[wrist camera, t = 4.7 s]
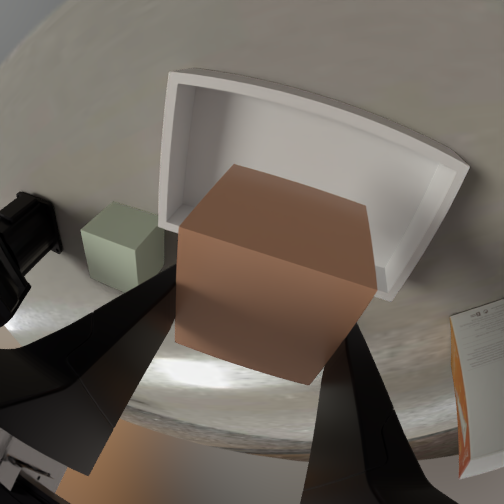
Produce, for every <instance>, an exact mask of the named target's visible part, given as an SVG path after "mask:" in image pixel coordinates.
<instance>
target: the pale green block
mask: <svg viewBox="0 0 504 504" xmlns="http://www.w3.org/2000/svg"><path fill="white" fill-rule="evenodd" d="M81 235H82V240H83V245H84V250H85V255H86V260H87V265H88V269H89V273H90V278H92V279H94V280H96V281H99V282H101V283H103V284H105V285H108V286H110V287H112V288H115V289H117V290H119V291H121V292H124V293H126V292H127V291H129V290H131V289H132V288H134V287H136V286H138V285H139V284H141V283H143V282H145V281H146V280H148V279H150V278H152V277H153V276H155V275H157V274H158V273H159V271H160V270H161V268H162V267H163V266H164V229H163V228H160V227H158V215H156V214H153V213H150V212H146V211H143V210H140V209H137V208H133V207H130V206H127V205H124V204H120V203H117V202H114V201H113V202H112V203H111V204H110V205H108V206H107V207H106V208H105V209H104V210H102V211H101V212H100V213H99V214H98V215H97V216H95V217H94V218H93V219H92V220H91V221H90V222H89V223H88V224H86V225H85V226H84V227H83V228H82V229H81Z"/></svg>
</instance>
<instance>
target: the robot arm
mask: <svg viewBox="0 0 504 504" xmlns="http://www.w3.org/2000/svg"><path fill="white" fill-rule="evenodd" d="M50 250H52V251H54V252H56V253H58V254H60V253H61V252H62V251H63V250H62V246H61V241H60V237H59V233H58V228H57V224H56V219H55V214H54V209H53V206H52V204H51V203H50V202H47V201H44V200H42V199H39V198H36V197H34V196H31V195H28V194H25V193H23V192H18V193H17V198H16V199H15V200H14V201H12V202H11V203H9V204H8V205H7V206H6V207H4V208H3V209H2V210H0V327H2V326H3V325H5V324H6V323H7V322H8V321H9V320H10V319H11V318H12V317H13V316H14V314H15V313H16V311H17V309H18V308H19V306H20V304H21V303H22V301H23V300H24V298H25V296H26V295H27V293H28V292H29V290H30V289H31V285H30V284H29V283H28V282H27V280H26V279H25V277H24V276H25V275H26V274H27V273H28V272H29V271H30V270H31V269H32V268H33V267H34V266H35V265H36V264H37V263H38V262H39V261H40V260H41V259H42V258H43V257H44V256H45V255H46V254H47V253H48V252H49V251H50ZM176 269H177V264H175V265H173V266H171V267H169V268H168V269H166V270H164V271H162V272H160V273H159V274H157V275H155V276H153V277H152V278H150V279H148V280H146V281H145V282H143V283H141V284H139V285H138V286H136V287H134V288H132V289H131V290H129V291H127V292H126V293H124V294H122V295H120V296H119V297H117V298H115V299H114V300H112V301H110V302H108V303H107V304H105V305H103V306H102V307H100V308H98V309H96V310H95V311H94V312H91V313H90V314H88V315H86V316H84V317H83V318H81V319H79V320H77V321H76V322H74V323H72V324H70V325H68V326H66V327H64V328H62V329H60V330H58V331H56V332H54V333H52V334H50V335H48V336H45V337H43V338H41V339H39V340H37V341H35V342H32V343H30V344H28V345H26V346H23V347H20V348H16V349H0V504H70V503H68V502H67V501H66V500H64V499H63V498H61V497H59V496H58V495H56V494H55V492H56V490H57V488H58V486H59V483H60V481H61V479H62V477H63V475H64V473H65V471H66V469H67V467H69V468H71V469H73V470H76V471H78V472H80V473H82V474H85V475H87V476H89V474H90V472H91V470H92V469H93V467H94V465H95V463H96V461H97V459H98V457H99V455H100V453H101V452H102V450H103V448H104V446H105V444H106V442H107V440H108V438H109V436H110V435H111V433H112V431H113V428H114V427H115V426H116V424H117V422H118V420H119V418H120V416H121V415H122V413H123V411H124V409H125V407H126V406H127V404H128V402H129V400H130V398H131V397H132V395H133V393H134V391H135V389H136V388H137V386H138V384H139V382H140V381H141V379H142V377H143V375H144V374H145V372H146V370H147V368H148V367H149V365H150V363H151V361H152V360H153V358H154V356H155V354H156V353H157V351H158V349H159V347H160V346H161V344H162V342H163V341H164V339H165V337H166V335H167V334H168V332H169V330H170V328H171V326H172V324H173V321H174V319H175V317H176ZM393 409H394V407H393V405H392V402H391V400H390V397H389V395H388V392H387V390H386V388H385V385H384V383H383V380H382V378H381V376H380V373H379V371H378V369H377V366H376V364H375V362H374V360H373V357H372V355H371V353H370V350H369V348H368V346H367V344H366V342H365V339H364V337H363V335H362V333H361V331H360V328H359V326H358V324H357V322H356V324H355V325H354V326H353V328H352V329H351V331H350V332H349V334H348V335H347V336H346V338H345V339H344V340H343V341H342V343H341V344H340V346H339V347H338V348H337V350H336V351H335V352H334V354H333V355H332V356H331V358H330V359H329V360H328V362H327V363H326V364H325V367H324V371H323V375H322V381H321V388H320V395H319V403H318V410H317V417H316V423H315V429H314V436H313V442H312V447H311V453H310V458H309V464H308V469H307V474H306V479H305V484H304V489H303V490H304V491H303V493H302V497H301V502H300V504H458V503H457V502H455V501H454V500H452V499H451V498H449V497H448V496H446V495H445V494H443V493H442V492H440V491H439V490H438V489H436V488H435V487H434V486H432V484H431V483H430V482H429V481H428V480H427V478H426V477H425V475H424V473H423V471H422V469H421V467H420V465H419V463H418V461H417V458H416V456H415V454H414V452H413V450H412V448H411V446H410V444H409V442H408V440H407V438H406V436H405V434H404V432H403V429H402V427H401V424H400V422H399V420H398V417H397V415H396V412H395V410H393Z"/></svg>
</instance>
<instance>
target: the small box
mask: <svg viewBox="0 0 504 504" xmlns="http://www.w3.org/2000/svg"><path fill="white" fill-rule="evenodd" d="M450 325H451V368H452V374H453V381H454V389H455V397H456V406H457V419H458V436H459V479H463V478H467V477H471V476H475V475H478V474H482V473H486V472H489V471H492V470H495V469H499V468H501V467H504V299H501V300H498V301H496V302H493V303H490V304H487V305H484V306H481V307H478V308H474V309H471V310H468V311H465V312H462V313H459V314H456V315H452V316H450Z"/></svg>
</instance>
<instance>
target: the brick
mask: <svg viewBox="0 0 504 504" xmlns="http://www.w3.org/2000/svg"><path fill="white" fill-rule="evenodd" d="M377 290H378V289H377V280H376V271H375V262H374V255H373V247H372V240H371V233H370V227H369V221H368V215H367V209H366V206H365V205H363V204H360V203H357V202H354V201H351V200H349V199H346V198H343V197H340V196H337V195H334V194H331V193H328V192H325V191H322V190H319V189H316V188H313V187H310V186H307V185H304V184H301V183H298V182H294V181H291V180H288V179H285V178H281V177H278V176H275V175H271V174H268V173H265V172H261V171H258V170H254V169H251V168H247V167H243V166H240V165H236V164H233V165H232V166H231V167H230V169H229V170H228V171H227V172H226V173H225V174H224V175H223V176H222V177H221V178H220V180H219V181H218V182H217V183H216V184H215V185H214V186H213V187H212V189H211V190H210V191H209V192H208V193H207V194H206V195H205V197H204V198H203V199H202V200H201V201H200V202H199V203H198V205H197V206H196V207H195V208H194V209H193V210H192V212H191V213H190V214H189V215H188V216H187V217H186V219H185V220H184V221H183V222H182V223H181V225H180V226H179V231H178V248H177V269H176V317H175V342H176V343H178V344H181V345H184V346H186V347H189V348H192V349H194V350H197V351H200V352H202V353H205V354H208V355H211V356H213V357H216V358H219V359H222V360H225V361H228V362H231V363H234V364H237V365H240V366H243V367H246V368H249V369H253V370H256V371H259V372H262V373H266V374H269V375H272V376H276V377H279V378H283V379H286V380H290V381H294V382H297V383H301V384H305V385H310V384H311V383H312V381H313V380H314V379H315V378H316V376H317V375H318V374H319V372H320V371H321V370H322V369H323V367H324V366H325V364H326V363H327V362H328V360H329V359H330V358H331V356H332V355H333V354H334V352H335V351H336V350H337V348H338V347H339V346H340V344H341V343H342V341H343V340H344V339H345V338H346V336H347V335H348V334H349V332H350V331H351V329H352V328H353V326H354V325H355V324H356V322H357V321H358V319H359V318H360V316H361V315H362V313H363V312H364V310H365V309H366V307H367V306H368V304H369V303H370V301H371V300H372V298H373V297H374V295H375V294H376V292H377Z"/></svg>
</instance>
